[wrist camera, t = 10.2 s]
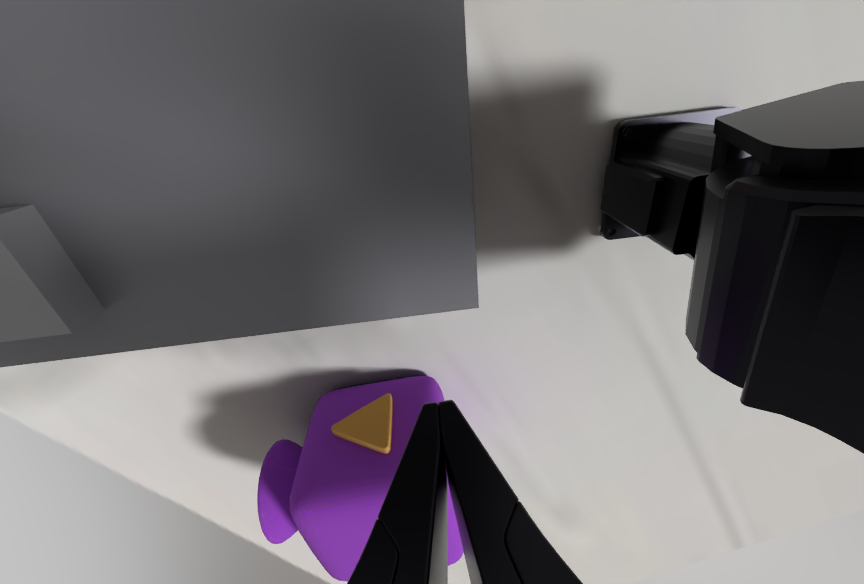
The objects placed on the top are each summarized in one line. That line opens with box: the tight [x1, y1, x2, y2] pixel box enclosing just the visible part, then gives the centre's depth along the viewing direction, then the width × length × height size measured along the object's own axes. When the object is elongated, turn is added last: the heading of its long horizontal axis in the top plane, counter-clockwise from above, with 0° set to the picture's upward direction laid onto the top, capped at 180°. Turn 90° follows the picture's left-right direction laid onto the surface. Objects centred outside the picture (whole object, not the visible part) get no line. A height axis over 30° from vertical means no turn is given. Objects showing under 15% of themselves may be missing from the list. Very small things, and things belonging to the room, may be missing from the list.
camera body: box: [0, 0, 479, 367], centre depth 14 cm, size 23×12×10 cm, turn 96°
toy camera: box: [257, 376, 464, 581], centre depth 25 cm, size 11×14×10 cm
